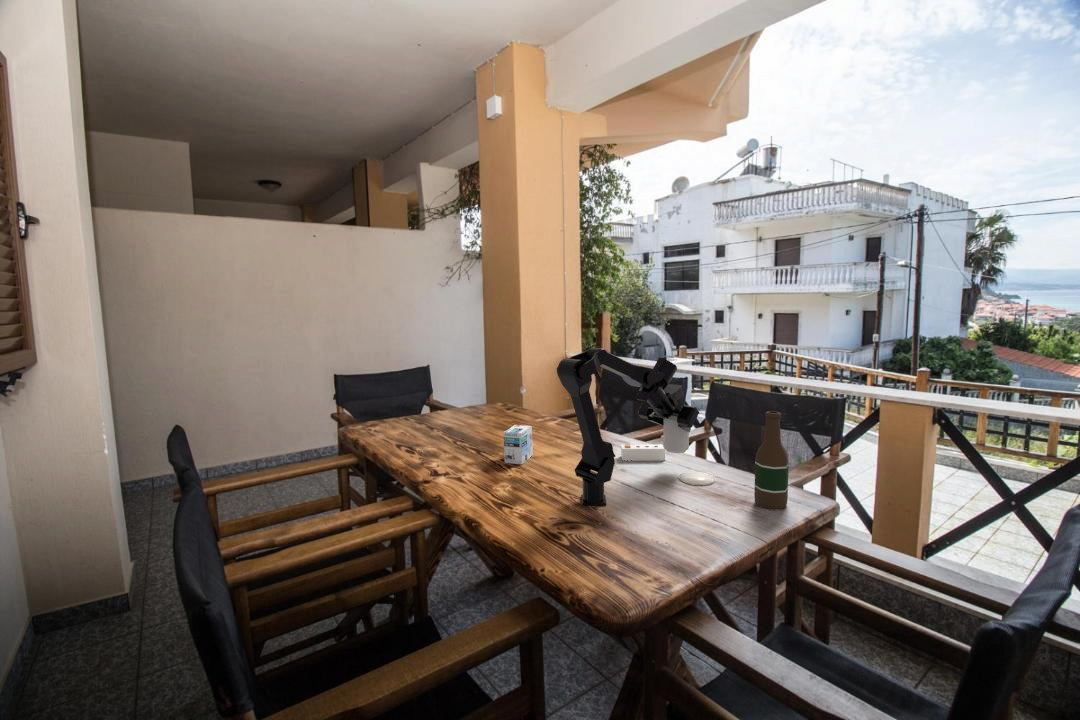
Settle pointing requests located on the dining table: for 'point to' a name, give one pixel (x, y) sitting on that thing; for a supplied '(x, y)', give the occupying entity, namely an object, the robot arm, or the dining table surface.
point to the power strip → (643, 452)
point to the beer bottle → (771, 467)
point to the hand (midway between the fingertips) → (678, 428)
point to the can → (674, 436)
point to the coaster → (697, 478)
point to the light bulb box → (518, 444)
